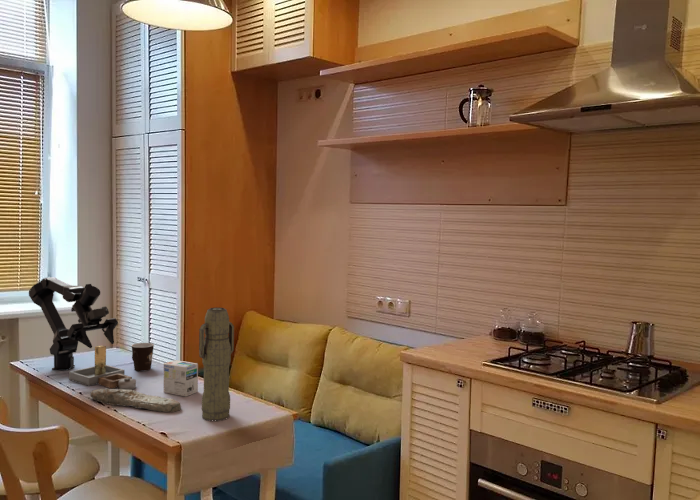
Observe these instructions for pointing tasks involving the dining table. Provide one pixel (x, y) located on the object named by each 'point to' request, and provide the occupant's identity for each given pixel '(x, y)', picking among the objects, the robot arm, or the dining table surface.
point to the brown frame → (118, 381)
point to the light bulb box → (180, 378)
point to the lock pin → (100, 360)
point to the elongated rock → (135, 400)
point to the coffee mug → (142, 356)
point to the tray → (92, 375)
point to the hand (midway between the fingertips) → (102, 345)
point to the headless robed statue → (216, 363)
